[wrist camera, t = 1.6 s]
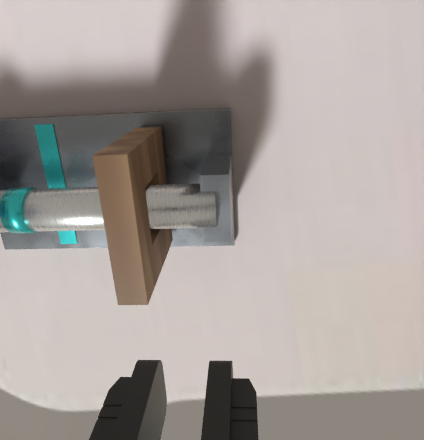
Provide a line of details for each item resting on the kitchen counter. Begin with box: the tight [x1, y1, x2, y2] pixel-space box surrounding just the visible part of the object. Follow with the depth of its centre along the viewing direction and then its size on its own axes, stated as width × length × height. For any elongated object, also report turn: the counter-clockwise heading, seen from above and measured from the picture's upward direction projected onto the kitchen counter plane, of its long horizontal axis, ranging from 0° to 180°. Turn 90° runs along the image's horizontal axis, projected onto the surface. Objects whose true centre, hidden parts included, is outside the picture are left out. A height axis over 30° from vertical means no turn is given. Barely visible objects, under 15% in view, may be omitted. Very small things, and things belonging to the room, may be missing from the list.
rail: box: [0, 108, 235, 249], centre depth 31 cm, size 22×12×8 cm, turn 93°
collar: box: [92, 127, 173, 305], centre depth 28 cm, size 2×10×10 cm, turn 3°
